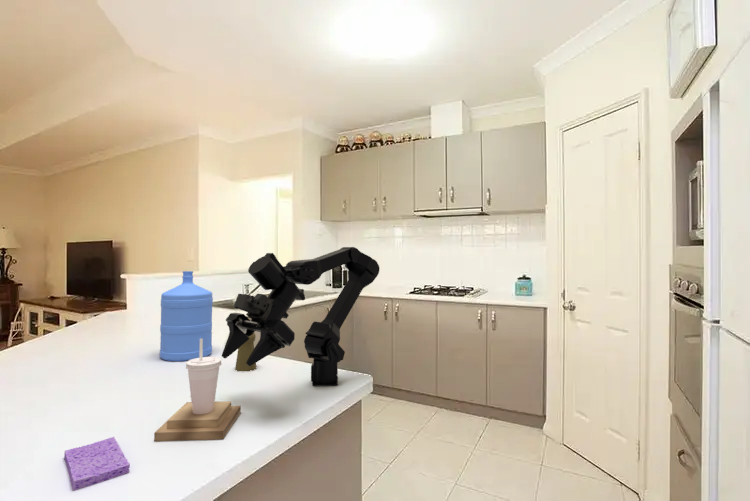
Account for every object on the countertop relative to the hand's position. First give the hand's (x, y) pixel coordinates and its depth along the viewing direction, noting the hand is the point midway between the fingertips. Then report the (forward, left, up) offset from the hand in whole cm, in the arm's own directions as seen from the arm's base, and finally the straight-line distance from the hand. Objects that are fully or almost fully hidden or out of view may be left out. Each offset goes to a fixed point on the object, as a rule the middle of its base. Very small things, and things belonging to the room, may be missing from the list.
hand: (235, 361), depth 82 cm
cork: (+6, -34, -11) cm, 36 cm away
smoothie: (+4, +5, -8) cm, 11 cm away
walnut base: (+5, +5, -11) cm, 13 cm away
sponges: (+16, +19, -12) cm, 28 cm away
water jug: (+29, -50, -11) cm, 59 cm away
